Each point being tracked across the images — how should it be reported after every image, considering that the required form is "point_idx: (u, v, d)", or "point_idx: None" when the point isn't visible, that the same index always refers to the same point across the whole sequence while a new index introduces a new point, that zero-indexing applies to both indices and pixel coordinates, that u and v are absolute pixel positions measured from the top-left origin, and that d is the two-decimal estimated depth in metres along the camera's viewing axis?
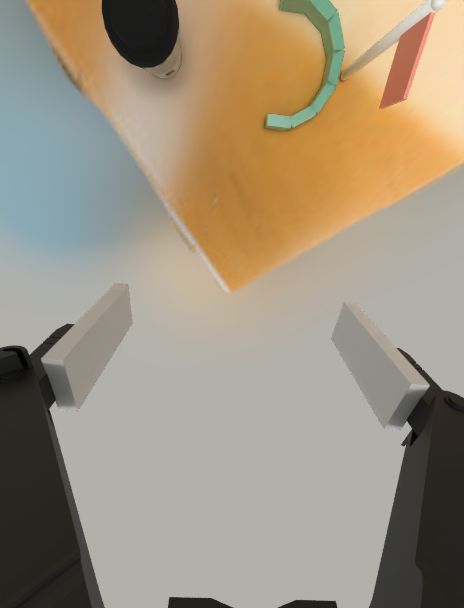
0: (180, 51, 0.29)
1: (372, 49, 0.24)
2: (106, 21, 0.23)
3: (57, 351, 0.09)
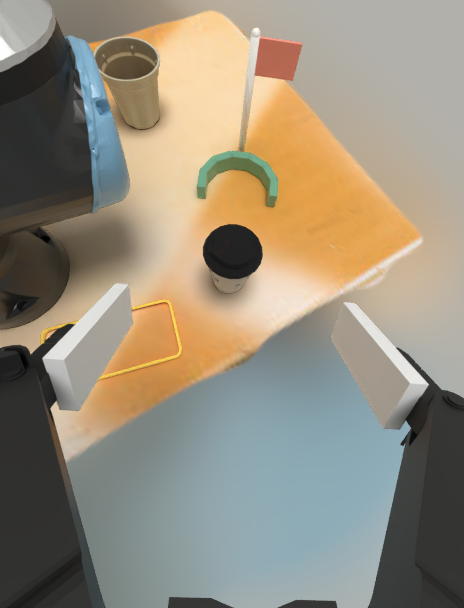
0: None
1: (246, 111, 0.36)
2: (237, 273, 0.28)
3: (58, 351, 0.09)
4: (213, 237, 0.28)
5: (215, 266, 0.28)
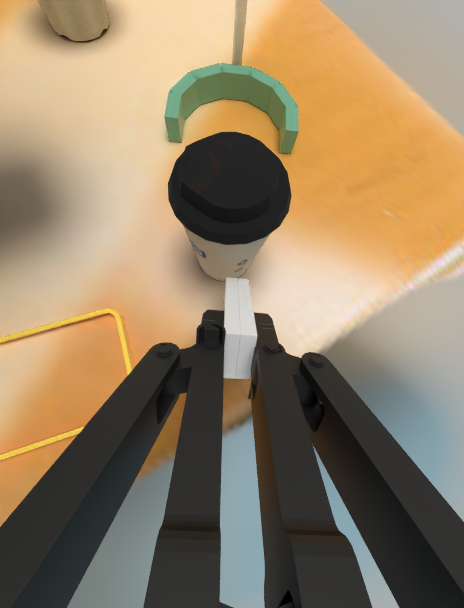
0: None
1: None
2: (243, 231, 0.13)
3: (231, 328, 0.12)
4: (187, 153, 0.13)
5: (194, 217, 0.13)
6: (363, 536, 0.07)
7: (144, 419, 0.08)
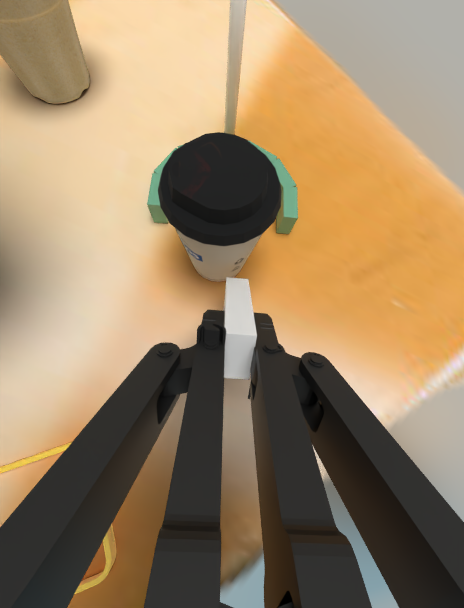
0: None
1: (236, 52, 0.17)
2: (240, 230, 0.13)
3: (231, 328, 0.12)
4: (175, 159, 0.13)
5: (190, 222, 0.13)
6: (363, 536, 0.07)
7: (144, 419, 0.08)
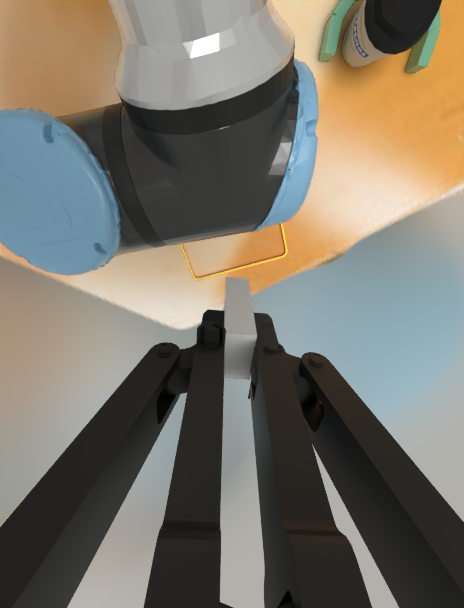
0: None
1: None
2: (408, 43, 0.24)
3: (231, 328, 0.12)
4: None
5: (382, 39, 0.24)
6: (363, 535, 0.07)
7: (144, 419, 0.08)
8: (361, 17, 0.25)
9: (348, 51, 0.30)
